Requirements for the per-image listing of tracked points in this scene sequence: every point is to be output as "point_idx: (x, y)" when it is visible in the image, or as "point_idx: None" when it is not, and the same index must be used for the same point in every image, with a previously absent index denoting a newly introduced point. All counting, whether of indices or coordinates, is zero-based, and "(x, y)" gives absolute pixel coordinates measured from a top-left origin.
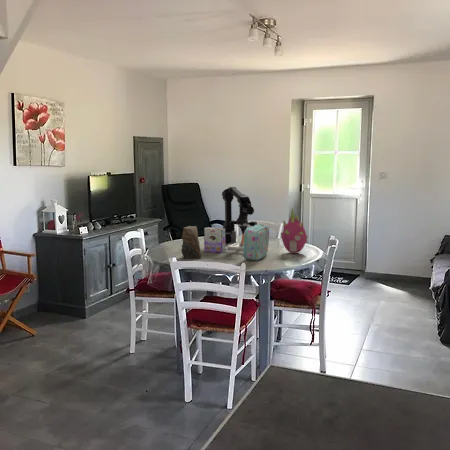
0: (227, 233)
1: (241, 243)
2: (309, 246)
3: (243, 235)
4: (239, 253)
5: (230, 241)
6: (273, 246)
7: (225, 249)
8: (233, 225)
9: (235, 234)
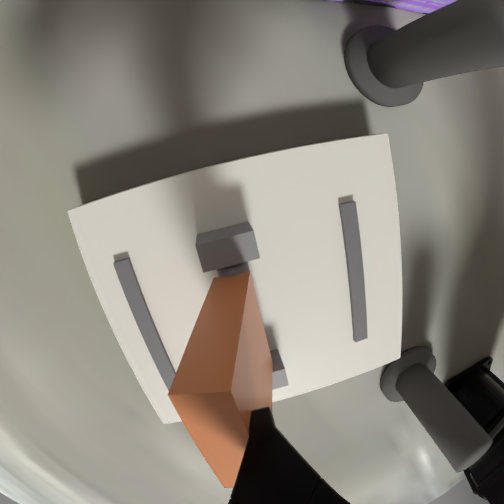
0: (499, 429)
1: (239, 276)
2: (2, 491)
3: (203, 375)
4: (98, 10)
5: None
6: (92, 469)
7: (350, 52)
8: (498, 501)
9: (444, 441)
